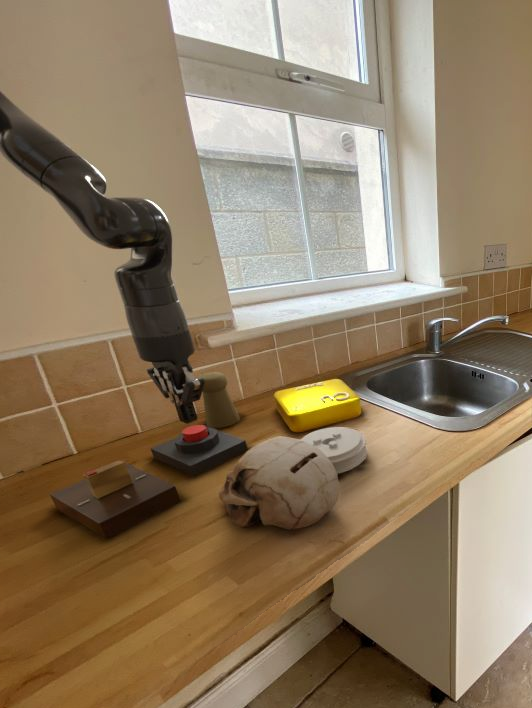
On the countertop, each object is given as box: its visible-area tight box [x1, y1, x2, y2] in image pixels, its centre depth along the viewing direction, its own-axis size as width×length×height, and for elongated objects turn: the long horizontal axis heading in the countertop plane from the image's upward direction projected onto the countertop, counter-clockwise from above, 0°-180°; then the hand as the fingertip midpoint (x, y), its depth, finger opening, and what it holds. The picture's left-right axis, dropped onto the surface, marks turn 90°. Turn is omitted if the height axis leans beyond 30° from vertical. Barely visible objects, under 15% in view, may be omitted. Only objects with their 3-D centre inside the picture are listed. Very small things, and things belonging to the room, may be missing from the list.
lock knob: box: [82, 459, 133, 499], centre depth 69 cm, size 5×1×4 cm, turn 155°
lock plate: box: [49, 462, 181, 540], centre depth 71 cm, size 14×10×3 cm
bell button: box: [181, 424, 208, 442], centre depth 83 cm, size 4×4×2 cm
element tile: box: [273, 378, 362, 433], centre depth 101 cm, size 15×15×5 cm
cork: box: [196, 371, 241, 429], centre depth 94 cm, size 6×6×11 cm
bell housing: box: [150, 425, 249, 477], centre depth 84 cm, size 12×10×4 cm
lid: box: [299, 426, 368, 475], centre depth 84 cm, size 13×13×5 cm
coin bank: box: [218, 435, 340, 531], centre depth 69 cm, size 16×17×13 cm
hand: (189, 420), depth 82 cm, fingers closed
